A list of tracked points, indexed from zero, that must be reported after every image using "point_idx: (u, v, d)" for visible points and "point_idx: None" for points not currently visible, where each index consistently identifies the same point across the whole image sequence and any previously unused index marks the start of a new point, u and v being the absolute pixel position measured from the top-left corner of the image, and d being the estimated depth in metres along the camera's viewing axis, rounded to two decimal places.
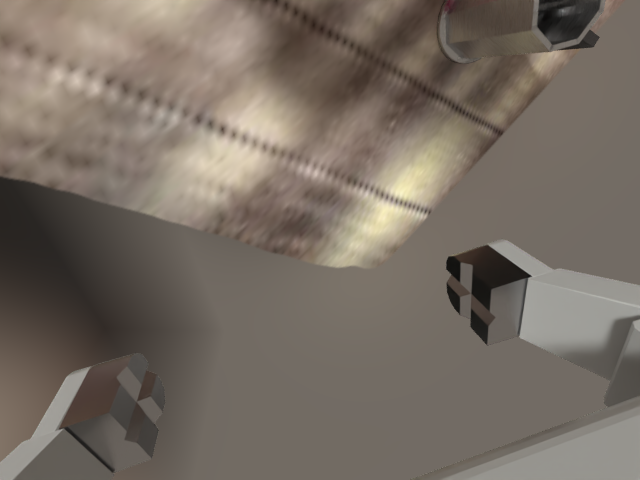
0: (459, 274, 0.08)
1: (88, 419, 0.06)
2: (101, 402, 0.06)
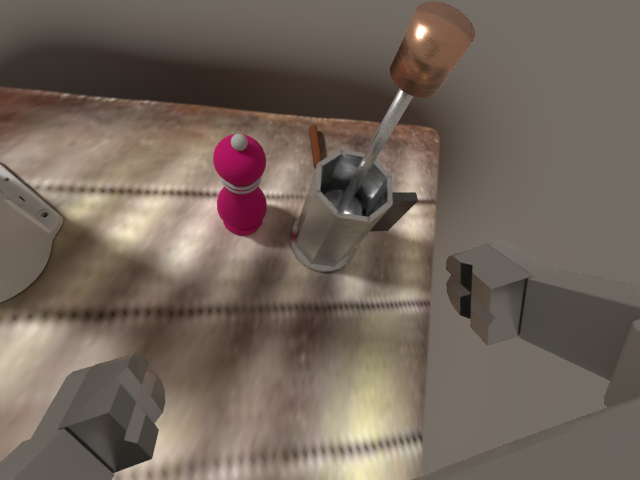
0: (459, 274, 0.08)
1: (88, 419, 0.06)
2: (101, 402, 0.06)
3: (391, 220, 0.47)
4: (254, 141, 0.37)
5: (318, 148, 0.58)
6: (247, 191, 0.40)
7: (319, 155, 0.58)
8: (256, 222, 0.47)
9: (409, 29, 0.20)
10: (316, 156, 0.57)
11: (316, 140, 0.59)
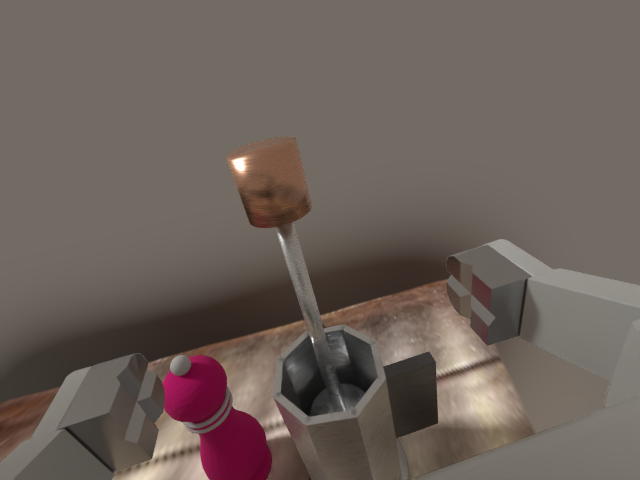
0: (459, 274, 0.08)
1: (88, 419, 0.06)
2: (101, 402, 0.06)
3: (426, 405, 0.32)
4: (205, 358, 0.31)
5: None
6: (213, 426, 0.31)
7: None
8: (251, 469, 0.34)
9: None
10: None
11: None
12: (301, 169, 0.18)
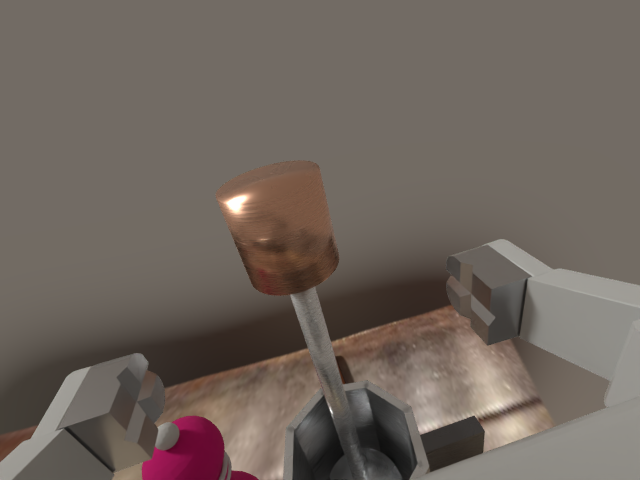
0: (459, 274, 0.08)
1: (88, 419, 0.06)
2: (101, 402, 0.06)
3: None
4: (197, 422, 0.26)
5: None
6: None
7: None
8: None
9: None
10: None
11: None
12: (326, 210, 0.12)
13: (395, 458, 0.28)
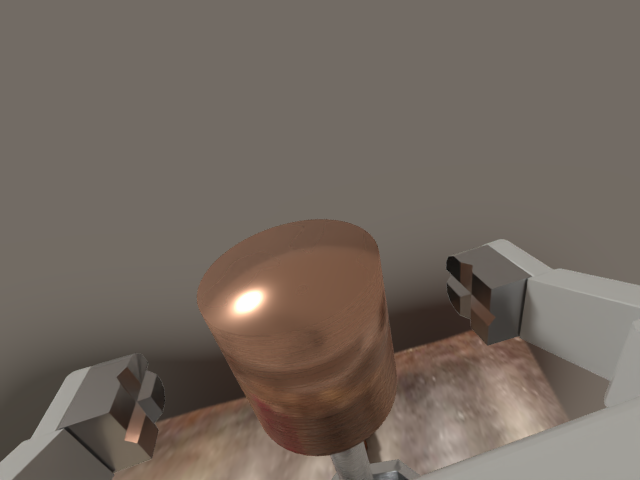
0: (459, 274, 0.08)
1: (88, 419, 0.06)
2: (101, 402, 0.06)
3: None
4: None
5: None
6: None
7: None
8: None
9: None
10: None
11: None
12: (387, 313, 0.07)
13: None
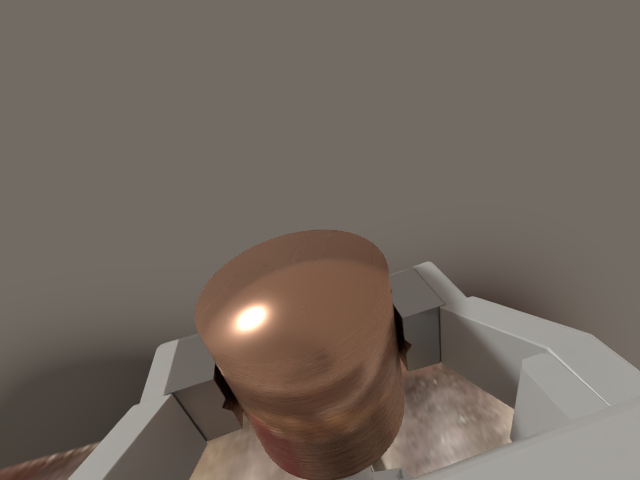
0: None
1: (192, 385, 0.06)
2: (202, 370, 0.07)
3: None
4: None
5: None
6: None
7: None
8: None
9: None
10: None
11: None
12: (395, 331, 0.07)
13: None
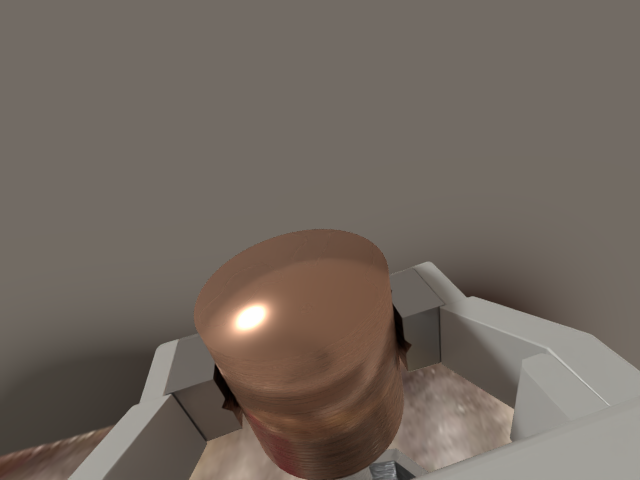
0: None
1: (192, 385, 0.06)
2: (201, 370, 0.07)
3: None
4: None
5: None
6: None
7: None
8: None
9: None
10: None
11: None
12: (395, 331, 0.07)
13: None
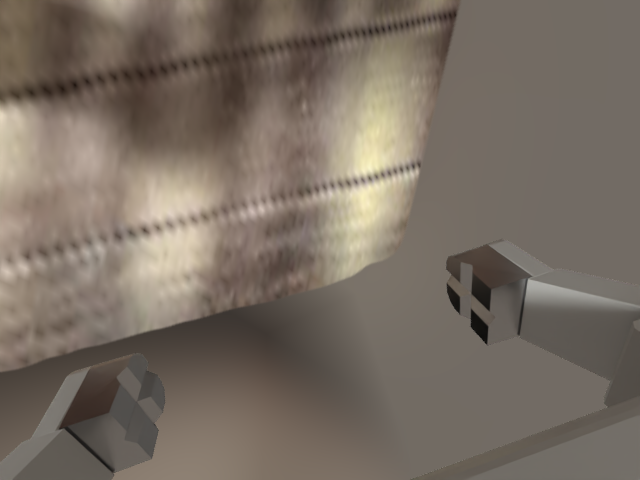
0: (459, 274, 0.08)
1: (88, 419, 0.06)
2: (101, 402, 0.06)
3: None
4: None
5: None
6: None
7: None
8: None
9: None
10: None
11: None
12: None
13: None
